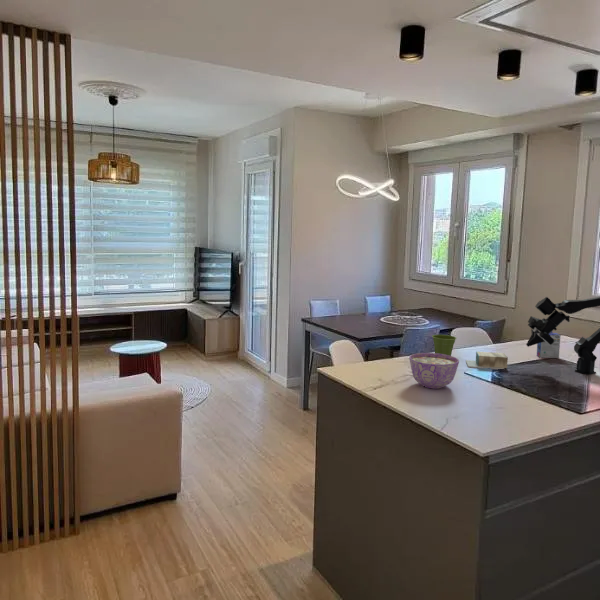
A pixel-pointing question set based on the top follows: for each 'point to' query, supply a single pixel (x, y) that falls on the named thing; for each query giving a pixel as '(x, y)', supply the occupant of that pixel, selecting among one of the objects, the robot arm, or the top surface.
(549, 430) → the top surface
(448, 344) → the plant pot
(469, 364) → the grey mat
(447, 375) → the bowl of food
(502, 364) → the oak block
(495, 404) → the top surface
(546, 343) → the ink cartridge box
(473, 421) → the top surface
